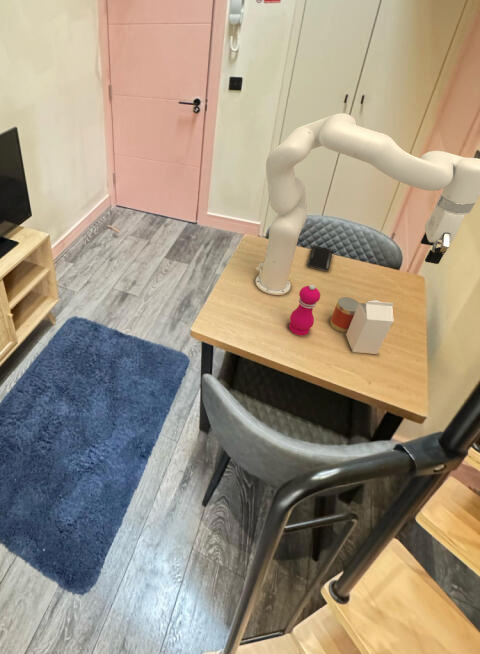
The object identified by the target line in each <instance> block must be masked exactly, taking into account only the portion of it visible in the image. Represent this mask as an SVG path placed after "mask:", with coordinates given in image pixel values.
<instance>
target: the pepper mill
mask: <svg viewBox="0 0 480 654" xmlns="http://www.w3.org/2000/svg"><path fill="white" fill-rule="evenodd" d="M298 296H299V298H298V303H299V304H298V306H297V307H296V308H295V309H294V310H293V311H292V312H291V314H290V316H289V325H288V329H289V330H290V332H292V333H293V334H295V335H296V336H307V335H308V334H309V333H310V330H311V328H313V326H314V323H315V318H314V314H313V310H314V308H315V307H316V306H317V303H318V302H319V301H320V299H321V291H320V290H319V289H318V288H317V287H316V285H315V284H310V285H305V286H302V287H301V289H300V290H299V293H298Z"/></svg>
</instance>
